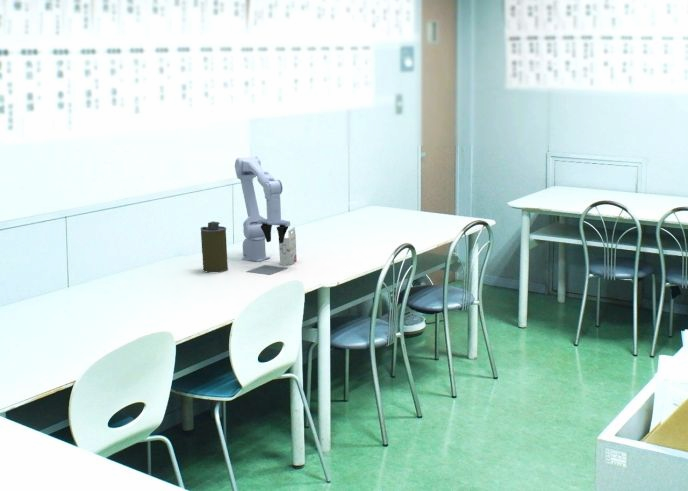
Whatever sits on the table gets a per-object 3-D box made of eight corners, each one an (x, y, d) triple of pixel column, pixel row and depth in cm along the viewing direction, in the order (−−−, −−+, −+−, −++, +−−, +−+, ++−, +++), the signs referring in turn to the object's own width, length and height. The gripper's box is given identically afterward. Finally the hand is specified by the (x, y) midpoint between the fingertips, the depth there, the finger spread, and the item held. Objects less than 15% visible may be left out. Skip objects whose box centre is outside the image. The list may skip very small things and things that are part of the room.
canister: (233, 268, 409) (230, 220, 405) (218, 273, 400) (216, 225, 396) (211, 266, 414) (209, 219, 410) (196, 271, 406) (194, 223, 401)
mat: (246, 272, 402) (246, 271, 402) (264, 266, 413) (264, 265, 413) (270, 275, 396) (270, 274, 396) (288, 269, 407) (288, 267, 407)
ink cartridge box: (285, 260, 422) (284, 226, 419) (296, 260, 421) (295, 226, 418) (279, 264, 414) (278, 230, 411) (290, 265, 412) (289, 230, 409)
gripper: (253, 210, 405) (255, 242, 408) (282, 212, 398) (284, 245, 401) (263, 207, 411) (264, 239, 414) (292, 209, 404) (293, 242, 406)
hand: (275, 242), depth 408 cm, fingers open, 6 cm apart
